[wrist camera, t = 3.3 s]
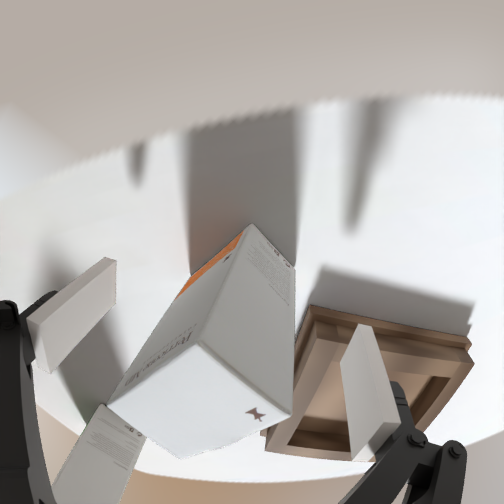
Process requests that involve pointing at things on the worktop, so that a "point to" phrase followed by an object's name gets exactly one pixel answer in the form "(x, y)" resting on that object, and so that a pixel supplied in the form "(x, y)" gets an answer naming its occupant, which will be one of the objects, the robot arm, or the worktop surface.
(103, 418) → the skincare box
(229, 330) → the skincare box
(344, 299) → the worktop surface
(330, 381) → the brown square tray
